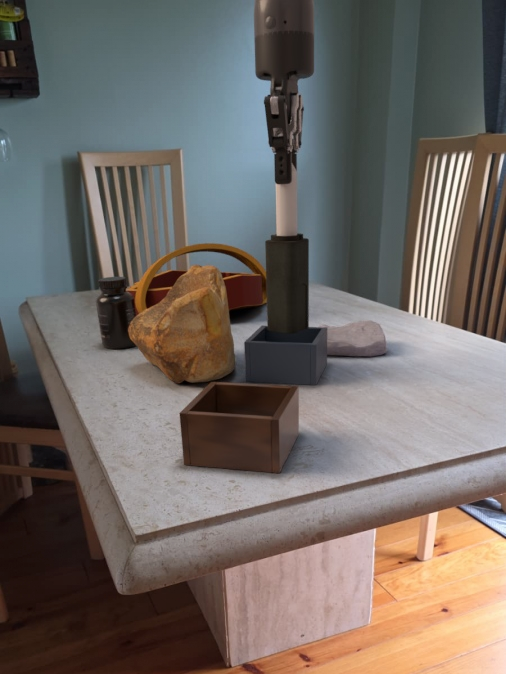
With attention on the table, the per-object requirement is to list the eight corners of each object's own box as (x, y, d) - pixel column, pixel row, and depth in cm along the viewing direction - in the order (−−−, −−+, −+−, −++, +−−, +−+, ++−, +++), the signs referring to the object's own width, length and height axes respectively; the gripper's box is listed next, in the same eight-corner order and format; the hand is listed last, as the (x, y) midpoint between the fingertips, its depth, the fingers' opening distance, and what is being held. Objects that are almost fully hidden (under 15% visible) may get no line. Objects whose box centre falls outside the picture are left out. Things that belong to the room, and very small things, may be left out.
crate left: (298, 434, 74) (298, 386, 71) (279, 473, 64) (278, 419, 62) (213, 428, 76) (211, 381, 74) (183, 465, 67) (179, 413, 64)
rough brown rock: (146, 354, 111) (129, 269, 105) (238, 343, 111) (227, 257, 104) (123, 402, 90) (100, 300, 84) (236, 389, 90) (222, 285, 83)
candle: (292, 334, 90) (290, 142, 80) (264, 330, 93) (259, 144, 82) (311, 327, 94) (312, 142, 83) (283, 323, 96) (281, 144, 86)
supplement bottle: (129, 338, 119) (121, 274, 114) (145, 345, 114) (138, 278, 109) (95, 344, 116) (86, 278, 111) (111, 351, 110) (102, 283, 106)
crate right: (326, 364, 99) (327, 327, 97) (316, 385, 90) (316, 344, 88) (262, 361, 102) (261, 325, 99) (245, 381, 93) (244, 342, 90)
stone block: (390, 365, 103) (376, 339, 112) (392, 339, 101) (378, 314, 109) (319, 371, 103) (311, 344, 111) (319, 345, 100) (311, 319, 108)
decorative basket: (239, 303, 158) (231, 241, 154) (309, 302, 134) (301, 229, 130) (114, 325, 142) (101, 257, 137) (168, 329, 118) (154, 247, 113)
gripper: (303, 19, 71) (303, 184, 78) (322, 41, 83) (321, 181, 90) (240, 25, 73) (246, 186, 80) (268, 46, 85) (271, 183, 92)
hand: (286, 182), depth 85 cm, fingers closed on candle, 3 cm apart
